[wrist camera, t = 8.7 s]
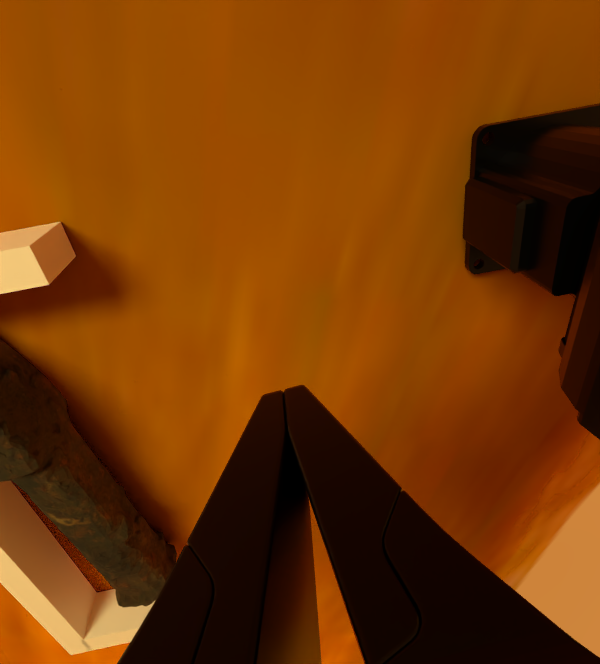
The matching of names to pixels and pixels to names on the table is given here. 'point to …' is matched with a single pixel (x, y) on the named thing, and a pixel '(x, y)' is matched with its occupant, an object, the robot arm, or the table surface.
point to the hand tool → (75, 485)
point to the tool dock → (21, 520)
